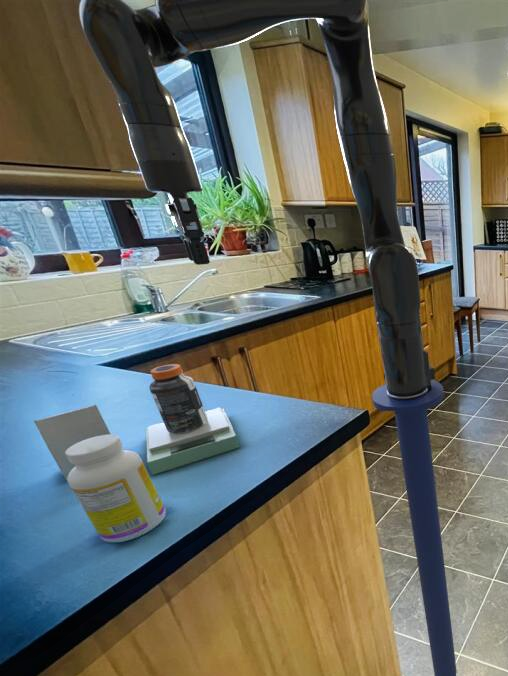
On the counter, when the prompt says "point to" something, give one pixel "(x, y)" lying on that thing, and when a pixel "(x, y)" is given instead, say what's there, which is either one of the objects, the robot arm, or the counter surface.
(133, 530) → the supplement bottle
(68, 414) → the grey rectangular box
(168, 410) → the pill bottle
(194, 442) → the scale
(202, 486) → the counter surface
